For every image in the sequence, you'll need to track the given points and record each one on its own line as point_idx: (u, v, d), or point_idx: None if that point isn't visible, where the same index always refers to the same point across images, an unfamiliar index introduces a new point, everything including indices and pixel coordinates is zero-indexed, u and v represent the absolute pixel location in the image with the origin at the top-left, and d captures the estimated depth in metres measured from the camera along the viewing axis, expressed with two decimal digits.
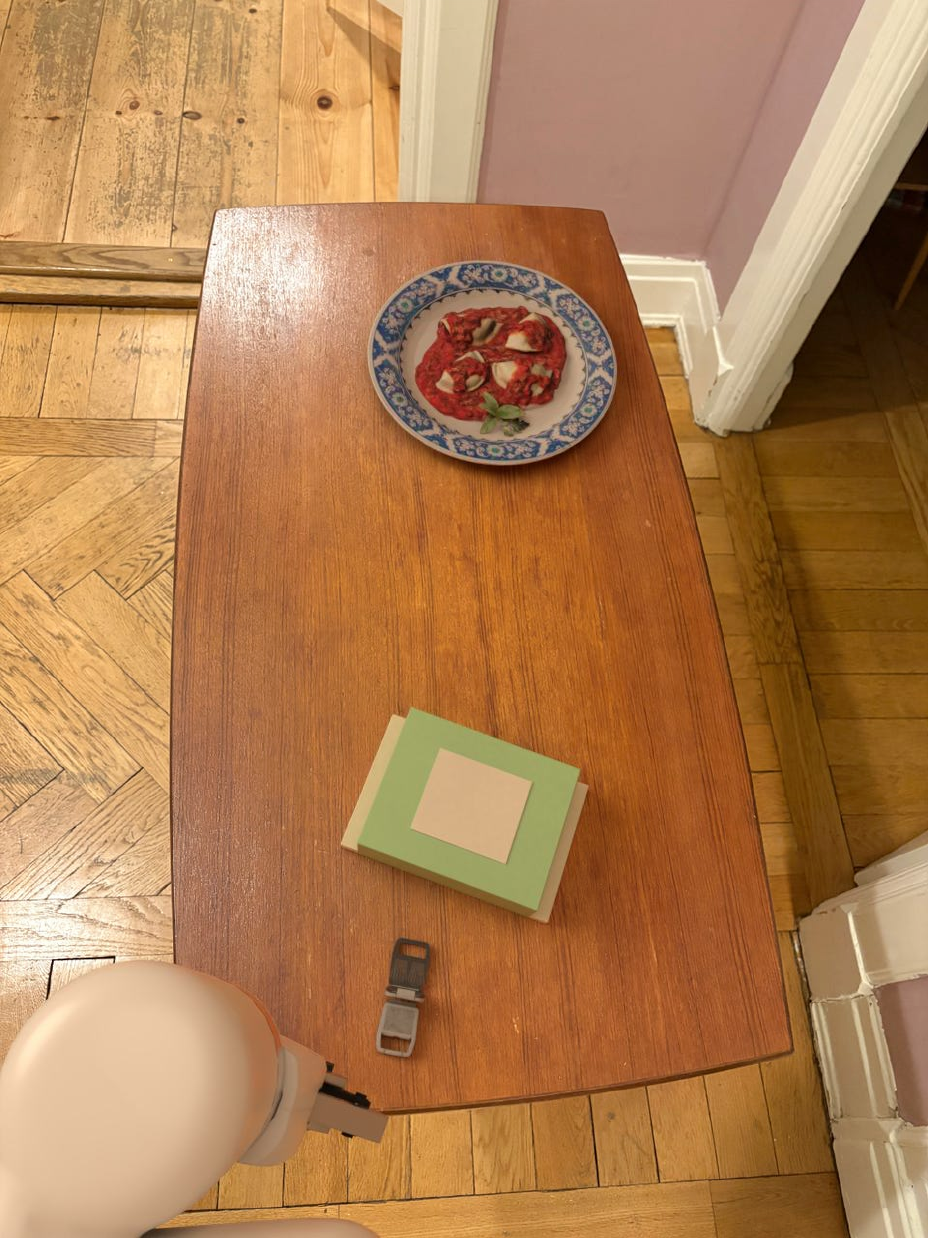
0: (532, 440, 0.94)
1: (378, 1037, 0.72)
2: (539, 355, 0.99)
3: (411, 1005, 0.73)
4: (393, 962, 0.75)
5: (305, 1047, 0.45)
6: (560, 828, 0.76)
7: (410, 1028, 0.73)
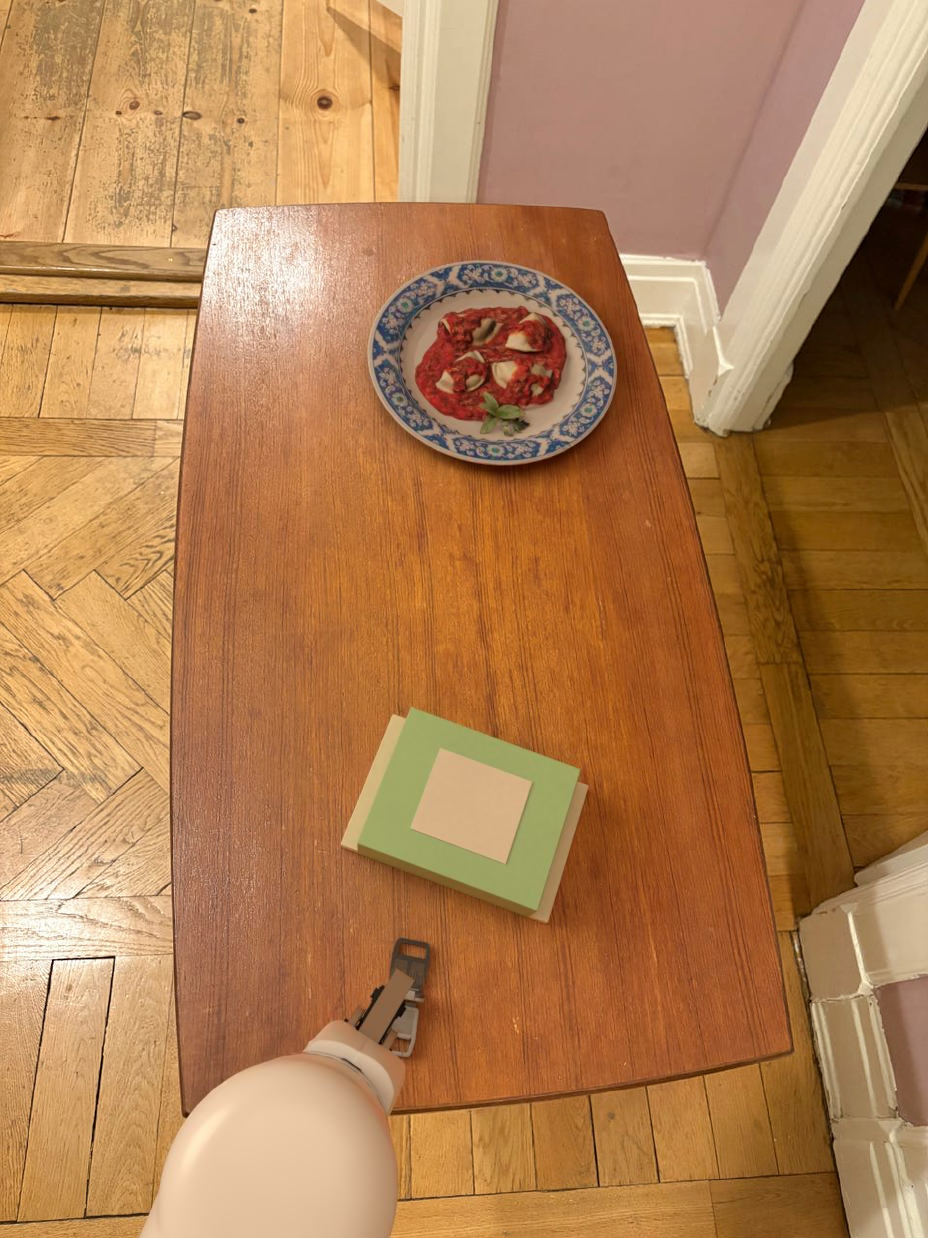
0: (532, 440, 0.94)
1: None
2: (539, 355, 0.99)
3: (411, 1005, 0.73)
4: (393, 962, 0.75)
5: None
6: (560, 828, 0.76)
7: (410, 1028, 0.73)
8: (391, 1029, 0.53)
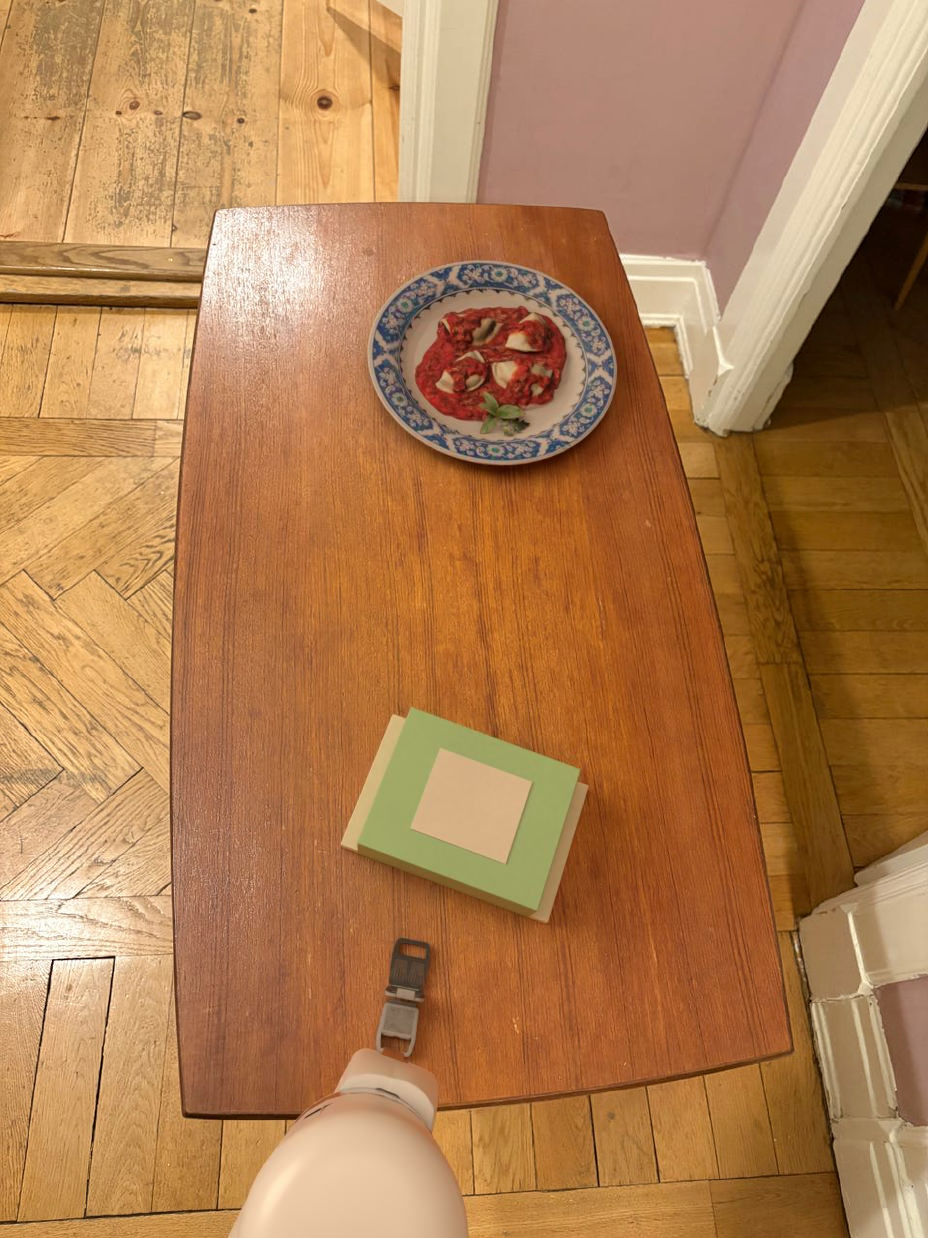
0: (532, 440, 0.94)
1: (378, 1037, 0.72)
2: (539, 355, 0.99)
3: (411, 1005, 0.73)
4: (393, 962, 0.75)
5: None
6: (560, 828, 0.76)
7: (410, 1028, 0.73)
8: None
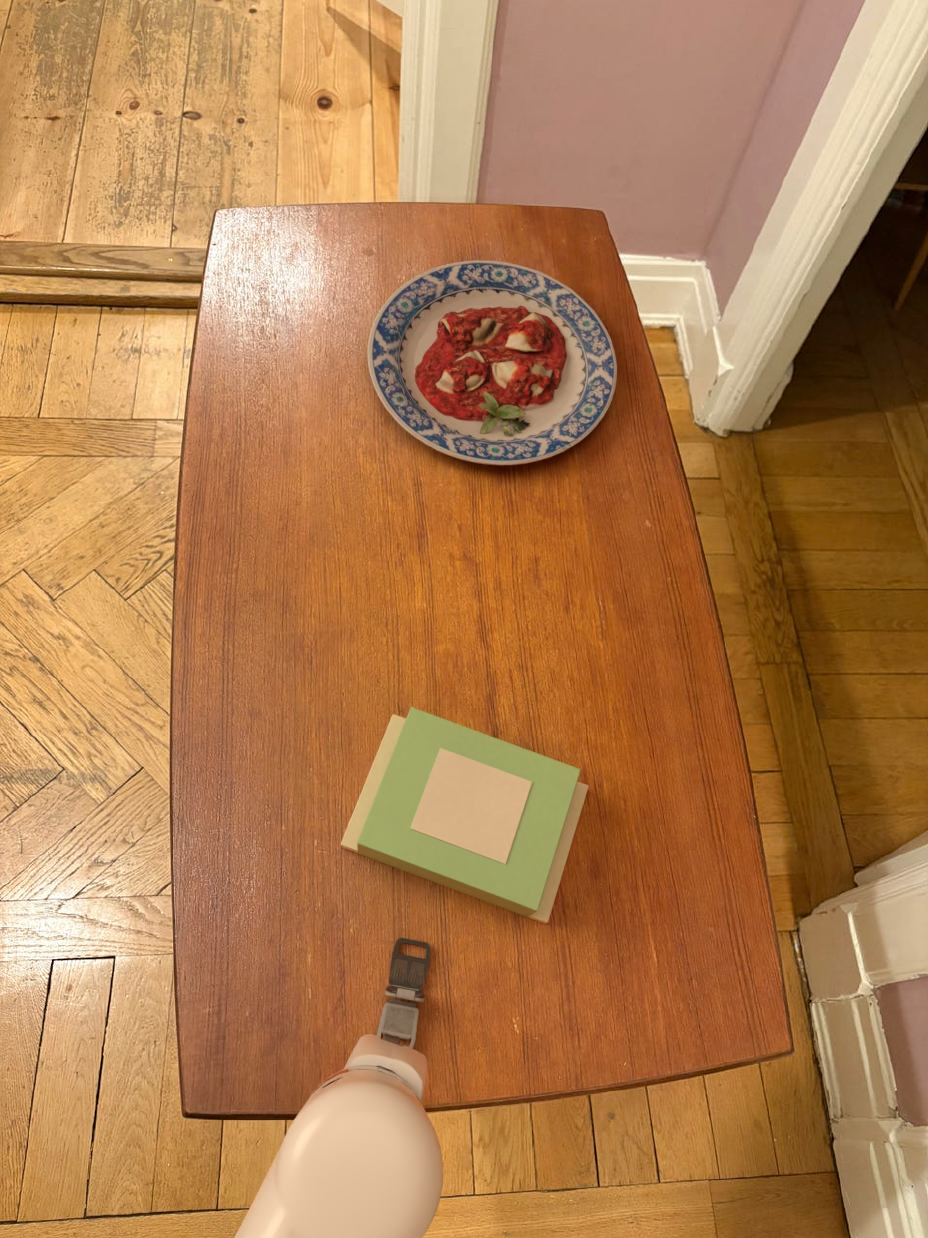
0: (532, 440, 0.94)
1: None
2: (539, 355, 0.99)
3: (411, 1005, 0.73)
4: (393, 962, 0.75)
5: None
6: (560, 828, 0.76)
7: (410, 1028, 0.73)
8: None
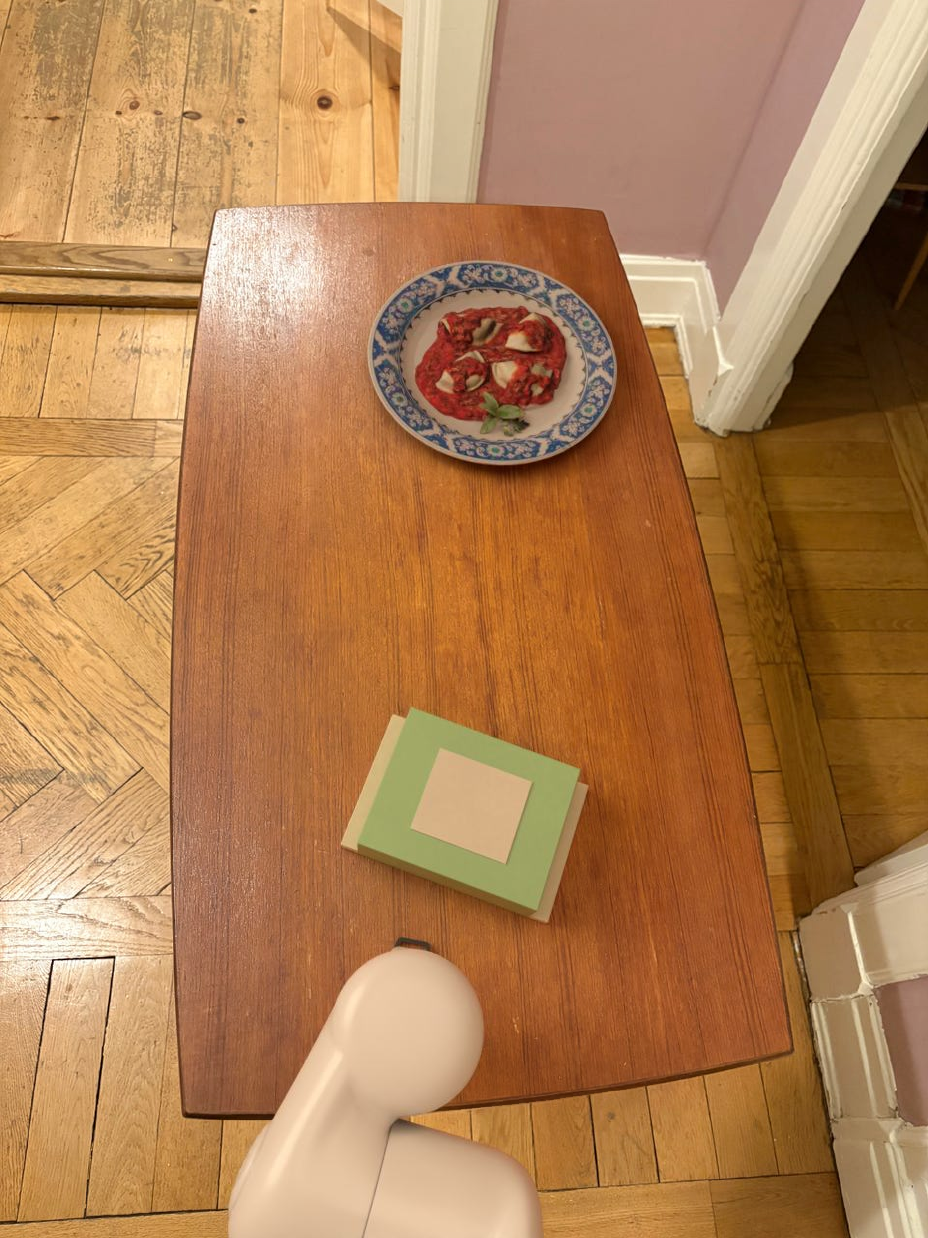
0: (532, 440, 0.94)
1: None
2: (539, 355, 0.99)
3: None
4: None
5: None
6: (560, 828, 0.76)
7: None
8: None
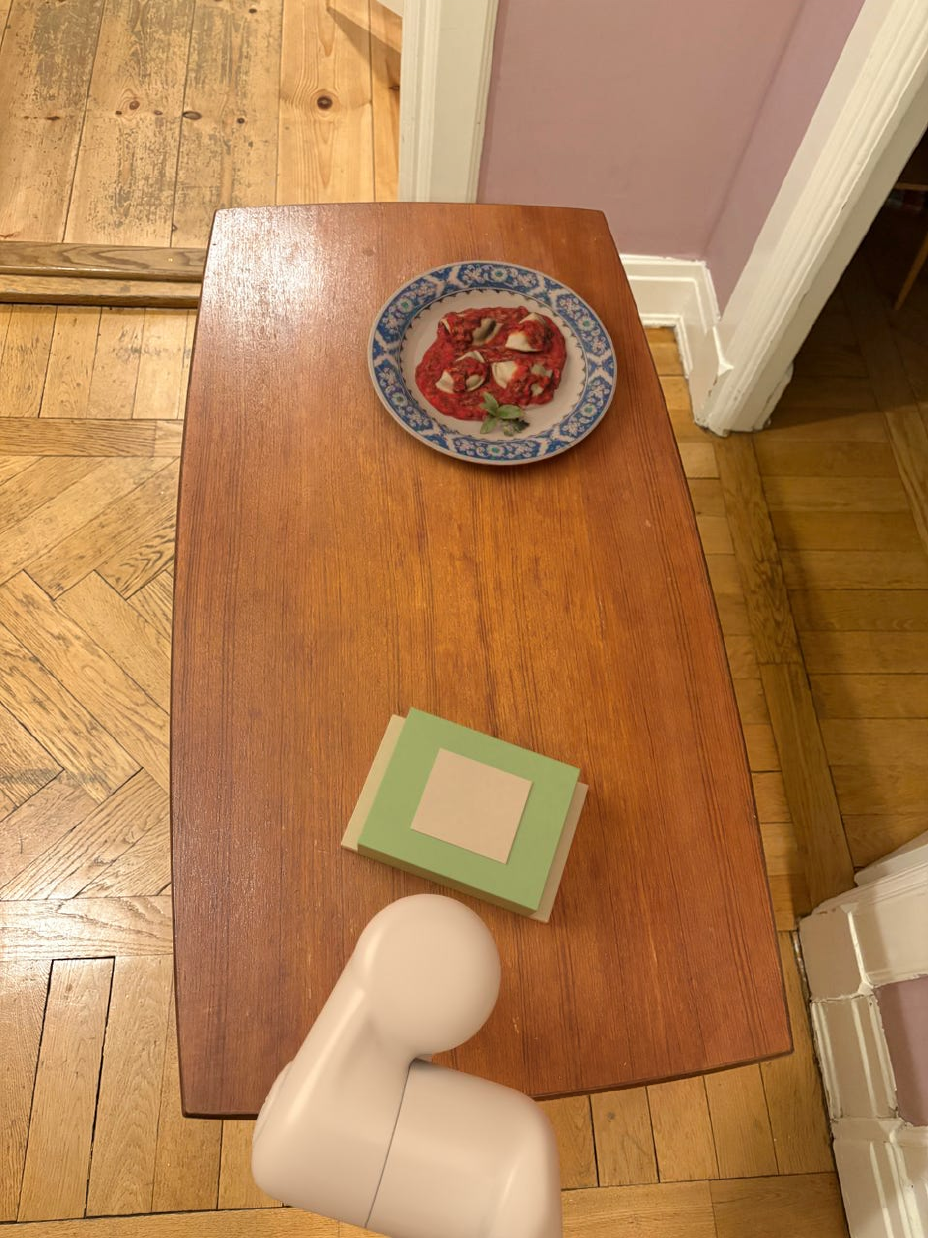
0: (532, 440, 0.94)
1: None
2: (539, 355, 0.99)
3: None
4: None
5: None
6: (560, 828, 0.76)
7: None
8: None
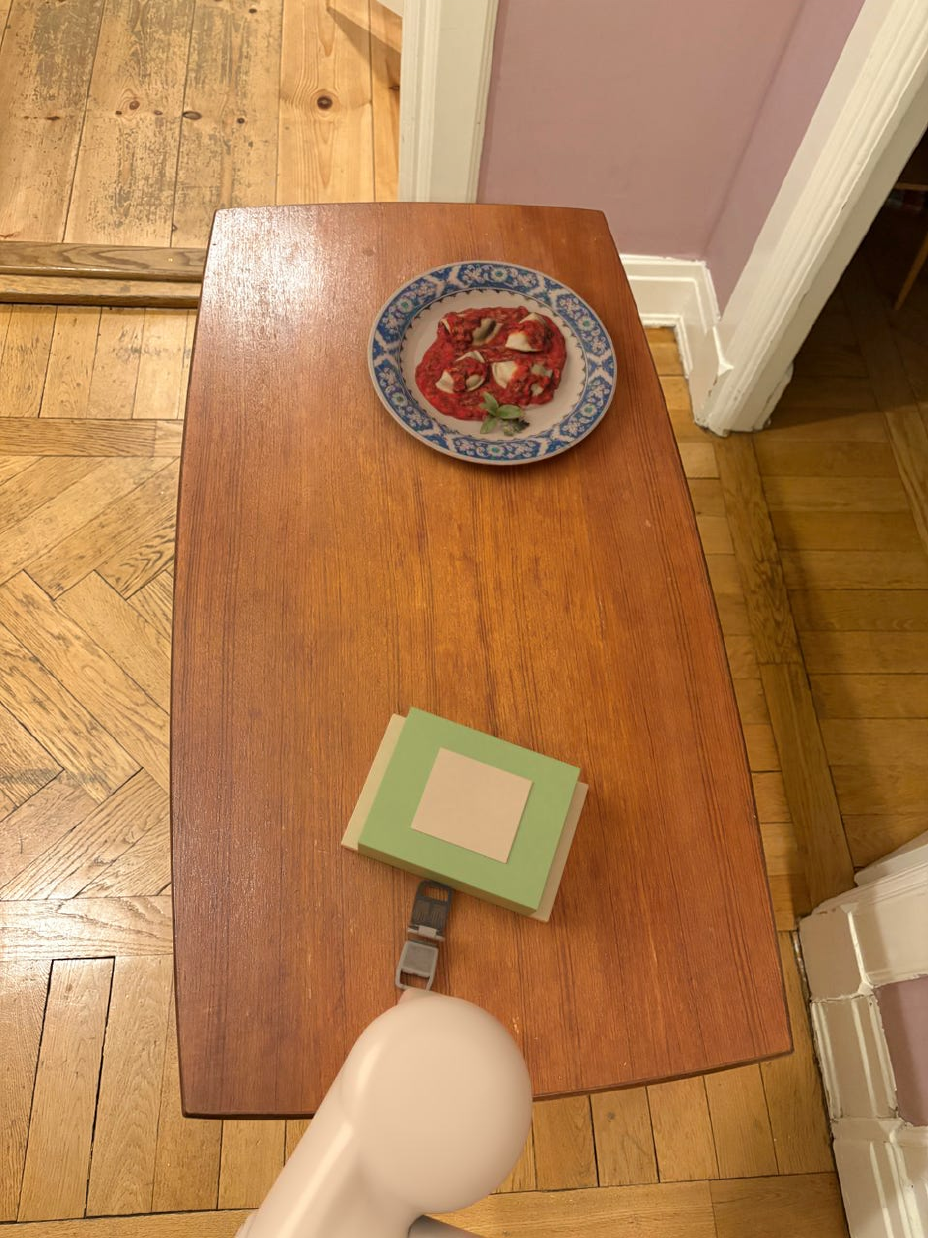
0: (532, 440, 0.94)
1: (398, 973, 0.74)
2: (539, 355, 0.99)
3: (431, 945, 0.75)
4: (416, 903, 0.77)
5: None
6: (560, 827, 0.76)
7: (429, 966, 0.74)
8: None
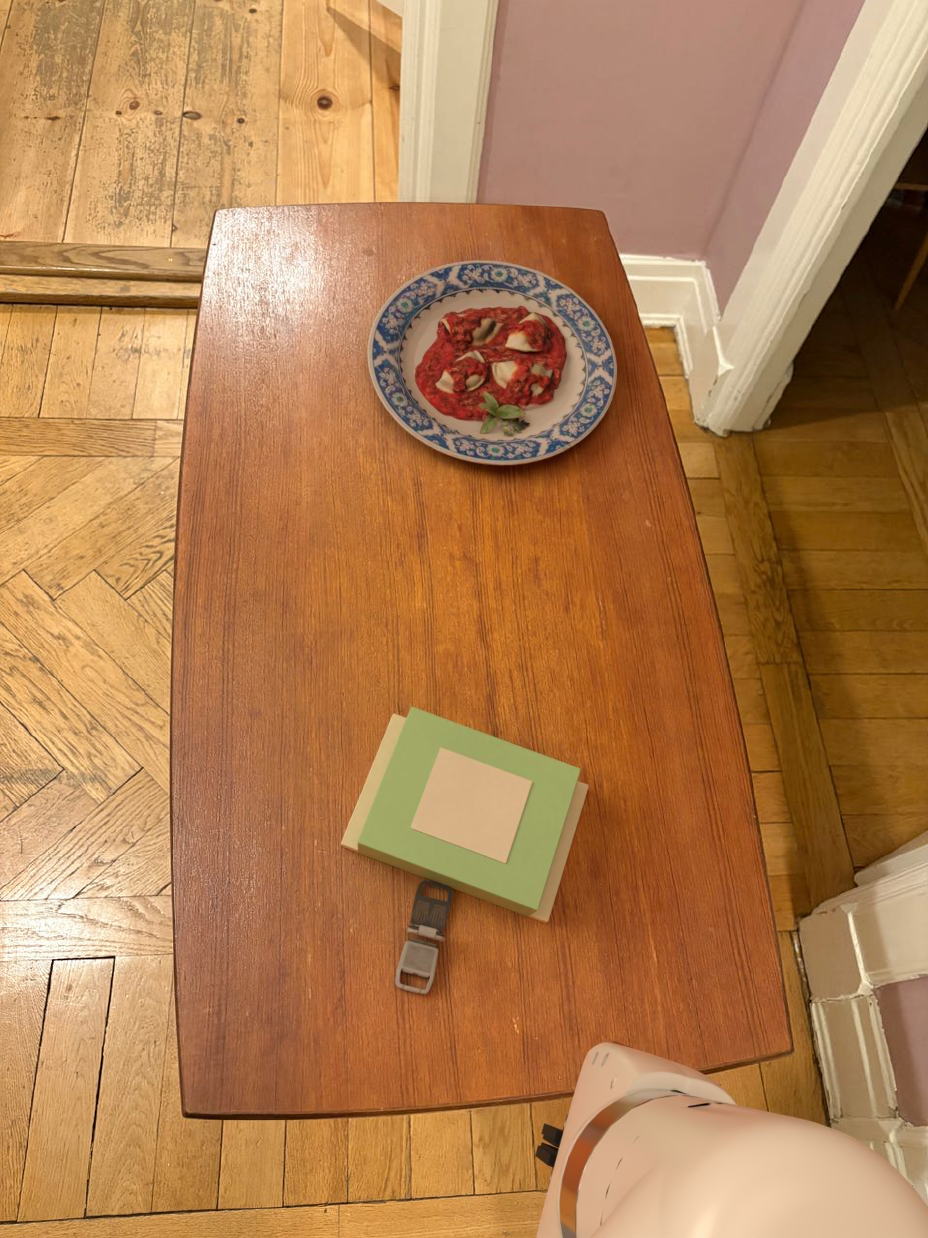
0: (532, 440, 0.94)
1: (398, 973, 0.74)
2: (539, 355, 0.99)
3: (431, 945, 0.75)
4: (416, 903, 0.77)
5: (594, 1068, 0.40)
6: (560, 827, 0.76)
7: (429, 966, 0.74)
8: None
